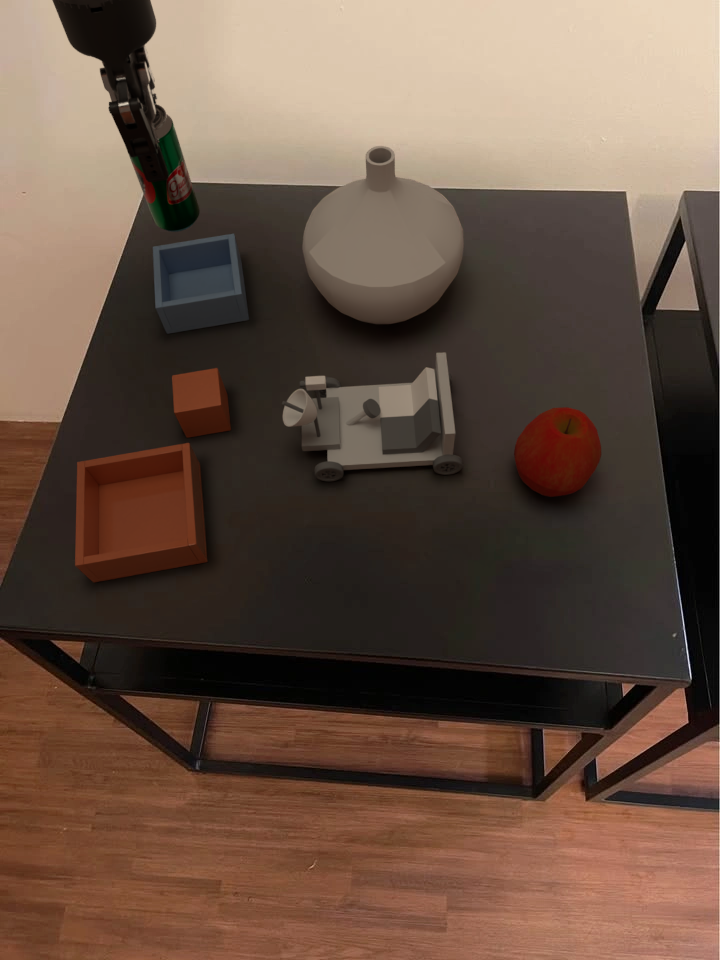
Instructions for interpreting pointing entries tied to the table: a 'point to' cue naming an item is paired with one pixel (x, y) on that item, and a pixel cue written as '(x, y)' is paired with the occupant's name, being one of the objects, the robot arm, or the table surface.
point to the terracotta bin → (139, 513)
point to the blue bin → (199, 283)
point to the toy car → (377, 423)
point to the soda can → (169, 181)
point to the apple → (558, 452)
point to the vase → (383, 244)
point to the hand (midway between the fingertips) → (157, 159)
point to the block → (201, 402)
